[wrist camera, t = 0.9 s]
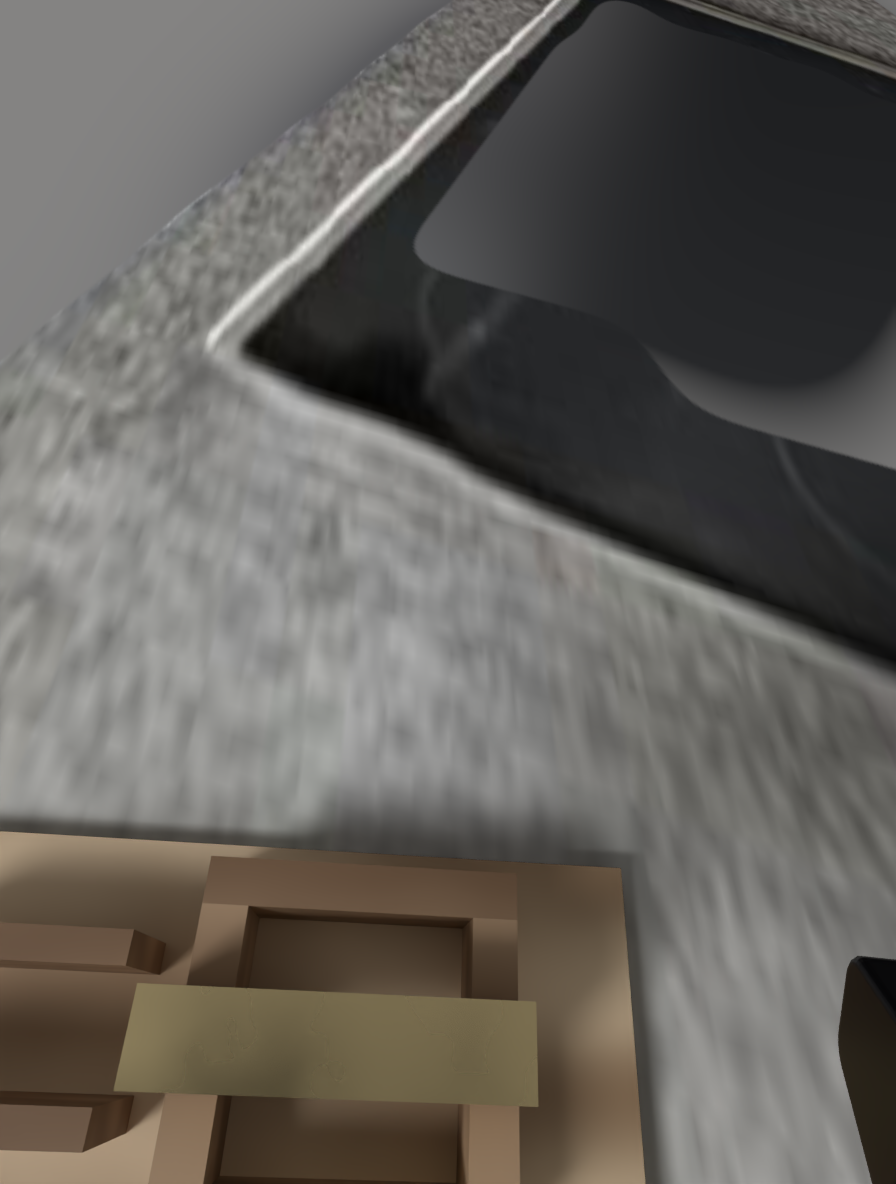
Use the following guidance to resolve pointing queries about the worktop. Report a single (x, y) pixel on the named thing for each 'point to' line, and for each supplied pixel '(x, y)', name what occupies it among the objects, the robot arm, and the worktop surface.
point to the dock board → (305, 963)
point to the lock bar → (329, 1046)
